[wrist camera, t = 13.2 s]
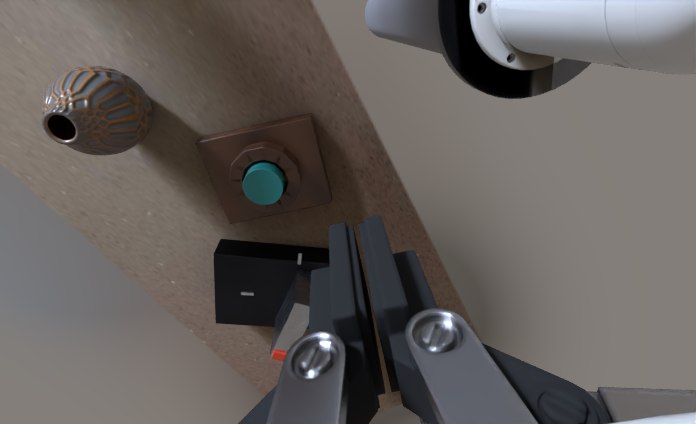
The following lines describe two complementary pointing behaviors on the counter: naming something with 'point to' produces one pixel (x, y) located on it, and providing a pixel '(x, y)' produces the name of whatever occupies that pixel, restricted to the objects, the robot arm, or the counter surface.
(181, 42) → the counter surface
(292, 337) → the metal block
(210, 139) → the brown square base
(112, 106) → the vase
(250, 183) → the button
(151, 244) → the counter surface
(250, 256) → the black rectangular base
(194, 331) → the counter surface
